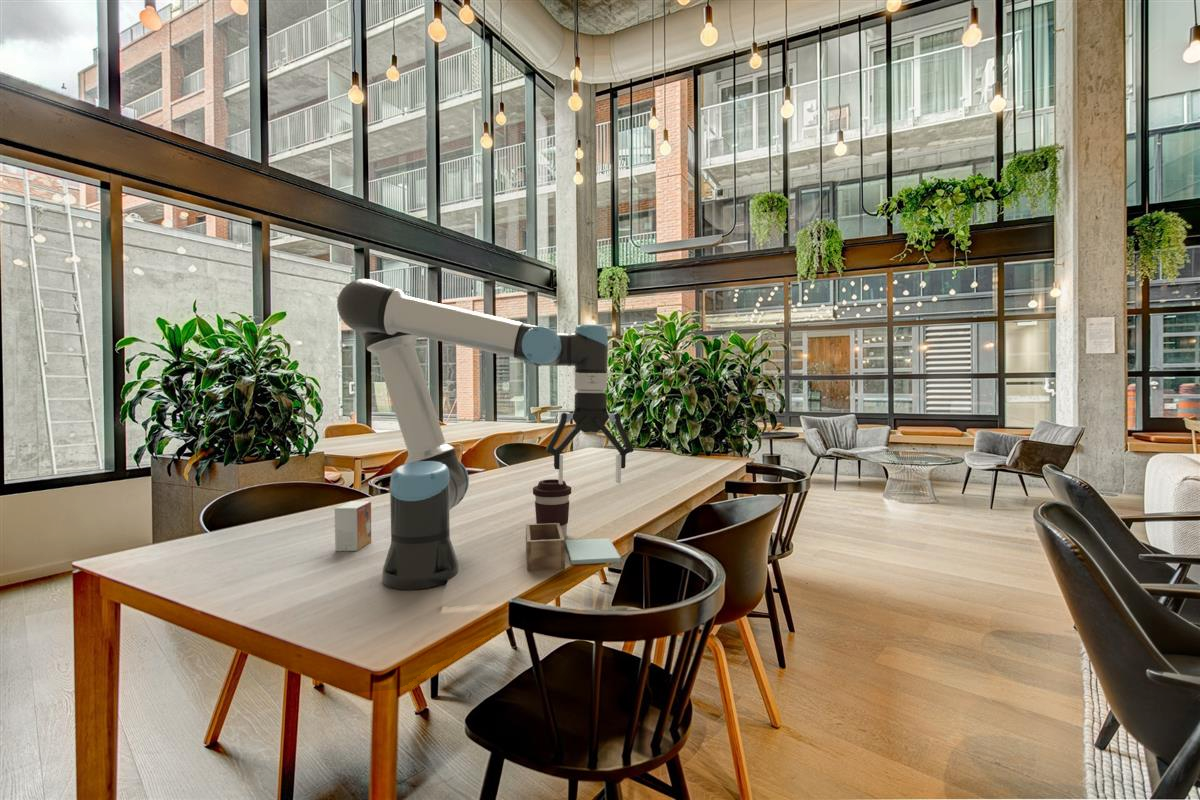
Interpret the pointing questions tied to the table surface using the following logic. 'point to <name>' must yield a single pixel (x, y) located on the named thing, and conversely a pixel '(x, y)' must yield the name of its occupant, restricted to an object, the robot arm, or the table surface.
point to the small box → (352, 526)
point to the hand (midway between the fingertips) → (589, 482)
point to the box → (545, 547)
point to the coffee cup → (552, 503)
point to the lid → (592, 551)
